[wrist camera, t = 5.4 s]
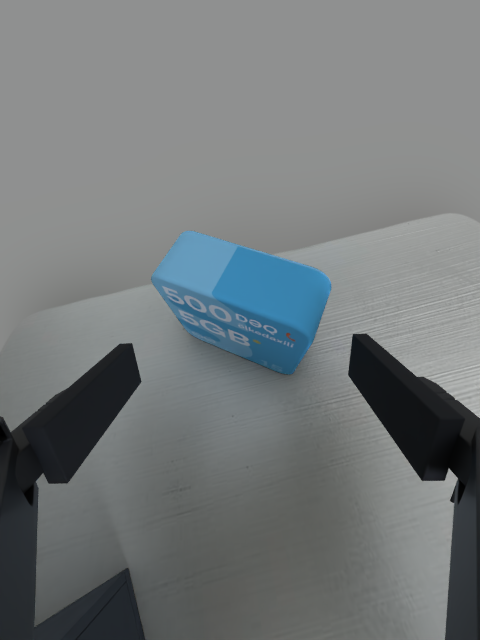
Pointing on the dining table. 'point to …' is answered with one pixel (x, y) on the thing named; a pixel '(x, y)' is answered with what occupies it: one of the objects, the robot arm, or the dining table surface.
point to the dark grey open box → (97, 615)
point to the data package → (243, 299)
